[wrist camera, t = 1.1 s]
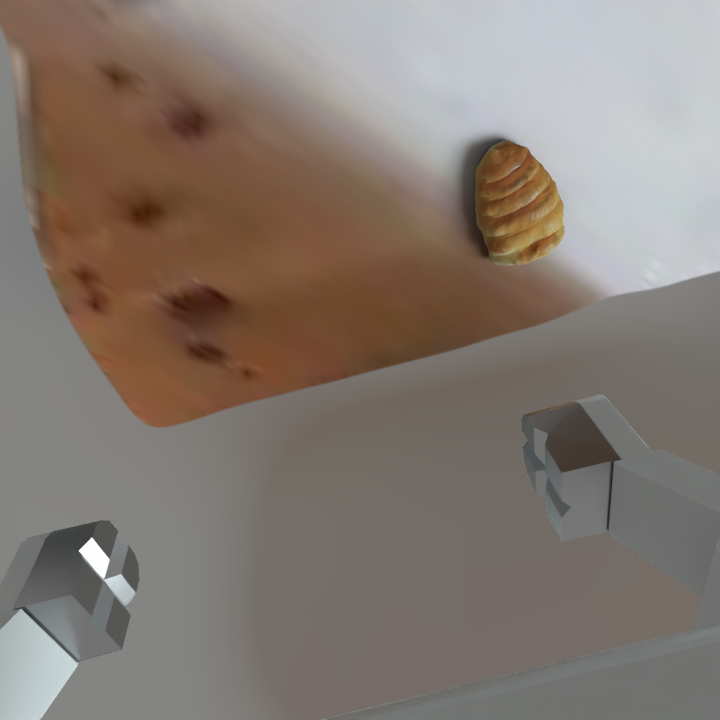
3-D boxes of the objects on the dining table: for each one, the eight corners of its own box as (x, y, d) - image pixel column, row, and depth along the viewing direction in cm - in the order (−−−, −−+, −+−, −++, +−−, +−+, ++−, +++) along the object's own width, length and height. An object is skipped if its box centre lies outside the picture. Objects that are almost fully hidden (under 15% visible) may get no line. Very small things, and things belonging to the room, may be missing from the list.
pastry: (449, 165, 41) (464, 176, 38) (530, 120, 40) (552, 127, 37) (489, 265, 46) (506, 283, 43) (562, 226, 45) (585, 241, 42)
